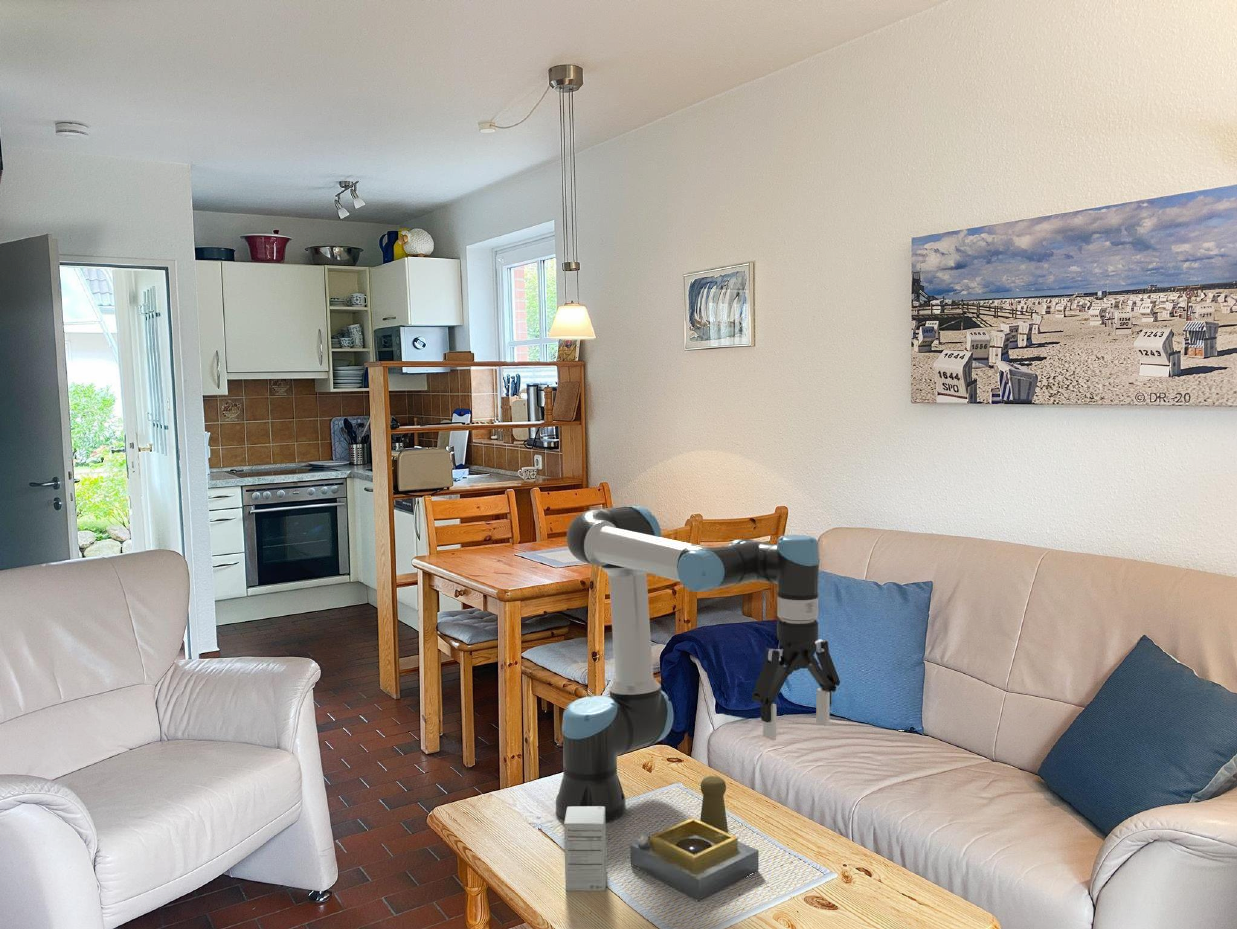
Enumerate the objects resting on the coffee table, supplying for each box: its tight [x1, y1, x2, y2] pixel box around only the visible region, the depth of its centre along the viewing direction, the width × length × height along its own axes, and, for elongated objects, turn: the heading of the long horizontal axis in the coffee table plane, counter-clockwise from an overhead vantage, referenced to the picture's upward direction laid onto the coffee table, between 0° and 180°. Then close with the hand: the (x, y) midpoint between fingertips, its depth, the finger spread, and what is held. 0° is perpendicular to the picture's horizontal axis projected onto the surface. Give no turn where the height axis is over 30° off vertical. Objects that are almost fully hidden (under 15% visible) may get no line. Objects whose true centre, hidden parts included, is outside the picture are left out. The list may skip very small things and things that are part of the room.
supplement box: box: [563, 806, 607, 892], centre depth 168 cm, size 7×7×13 cm
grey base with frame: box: [629, 817, 760, 903], centre depth 173 cm, size 18×16×6 cm
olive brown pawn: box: [699, 775, 729, 834], centre depth 188 cm, size 6×6×11 cm
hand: (796, 731), depth 172 cm, fingers open, 13 cm apart
